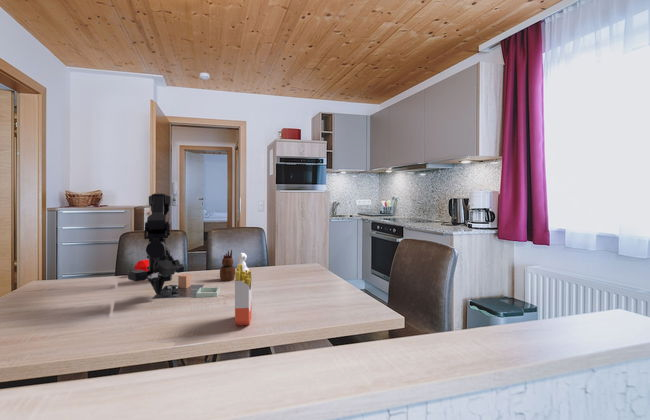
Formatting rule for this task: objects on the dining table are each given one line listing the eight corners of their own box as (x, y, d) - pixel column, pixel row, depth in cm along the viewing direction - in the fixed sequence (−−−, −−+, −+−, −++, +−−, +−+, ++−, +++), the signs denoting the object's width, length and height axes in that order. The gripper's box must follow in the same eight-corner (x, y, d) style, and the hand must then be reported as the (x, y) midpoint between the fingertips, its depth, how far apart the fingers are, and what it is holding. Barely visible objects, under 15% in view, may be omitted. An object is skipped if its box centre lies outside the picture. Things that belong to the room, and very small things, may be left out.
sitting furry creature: (231, 275, 169) (230, 251, 168) (248, 274, 172) (248, 250, 171) (231, 279, 160) (231, 254, 159) (250, 278, 163) (250, 253, 162)
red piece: (158, 275, 167) (157, 260, 166) (142, 279, 160) (141, 263, 159) (148, 273, 171) (148, 258, 170) (132, 276, 164) (132, 260, 164)
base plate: (151, 301, 129) (151, 298, 129) (165, 288, 146) (165, 285, 146) (195, 299, 131) (195, 296, 131) (204, 286, 148) (204, 284, 148)
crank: (167, 287, 143) (167, 279, 143) (176, 286, 145) (176, 278, 144) (170, 296, 131) (170, 287, 130) (180, 295, 132) (180, 286, 132)
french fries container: (253, 315, 115) (252, 262, 114) (250, 328, 105) (249, 270, 104) (239, 315, 115) (238, 263, 114) (234, 329, 104) (234, 270, 103)
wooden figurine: (237, 280, 159) (237, 248, 158) (232, 284, 153) (232, 250, 152) (223, 280, 160) (222, 248, 159) (218, 283, 154) (217, 250, 153)
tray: (196, 299, 131) (196, 293, 131) (200, 293, 138) (200, 287, 138) (217, 298, 132) (216, 292, 132) (219, 293, 140) (219, 287, 140)
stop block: (178, 287, 143) (178, 276, 143) (182, 285, 146) (182, 274, 146) (186, 288, 143) (186, 276, 142) (190, 285, 146) (190, 274, 146)
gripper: (143, 259, 114) (144, 305, 115) (193, 251, 129) (193, 292, 130) (126, 255, 120) (127, 299, 121) (175, 248, 135) (176, 287, 136)
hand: (158, 294), depth 127 cm, fingers closed
